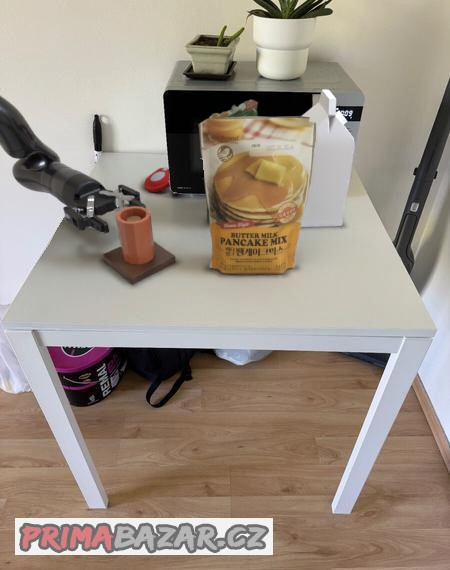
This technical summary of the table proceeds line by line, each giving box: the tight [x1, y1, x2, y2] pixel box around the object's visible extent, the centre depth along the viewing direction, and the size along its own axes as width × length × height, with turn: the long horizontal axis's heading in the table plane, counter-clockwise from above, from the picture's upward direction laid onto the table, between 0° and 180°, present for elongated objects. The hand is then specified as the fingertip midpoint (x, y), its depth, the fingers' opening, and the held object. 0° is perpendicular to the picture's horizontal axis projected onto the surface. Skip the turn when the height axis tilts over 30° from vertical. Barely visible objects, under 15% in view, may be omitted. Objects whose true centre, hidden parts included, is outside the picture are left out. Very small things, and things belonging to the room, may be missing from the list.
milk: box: [301, 89, 356, 228], centre depth 93 cm, size 12×12×26 cm
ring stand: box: [102, 216, 177, 285], centre depth 83 cm, size 10×10×10 cm
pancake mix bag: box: [197, 115, 316, 275], centre depth 77 cm, size 7×19×28 cm, turn 91°
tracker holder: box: [143, 166, 180, 195], centre depth 109 cm, size 12×4×10 cm
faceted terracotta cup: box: [115, 206, 155, 265], centre depth 82 cm, size 6×6×9 cm
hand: (126, 219), depth 82 cm, fingers open, 8 cm apart
